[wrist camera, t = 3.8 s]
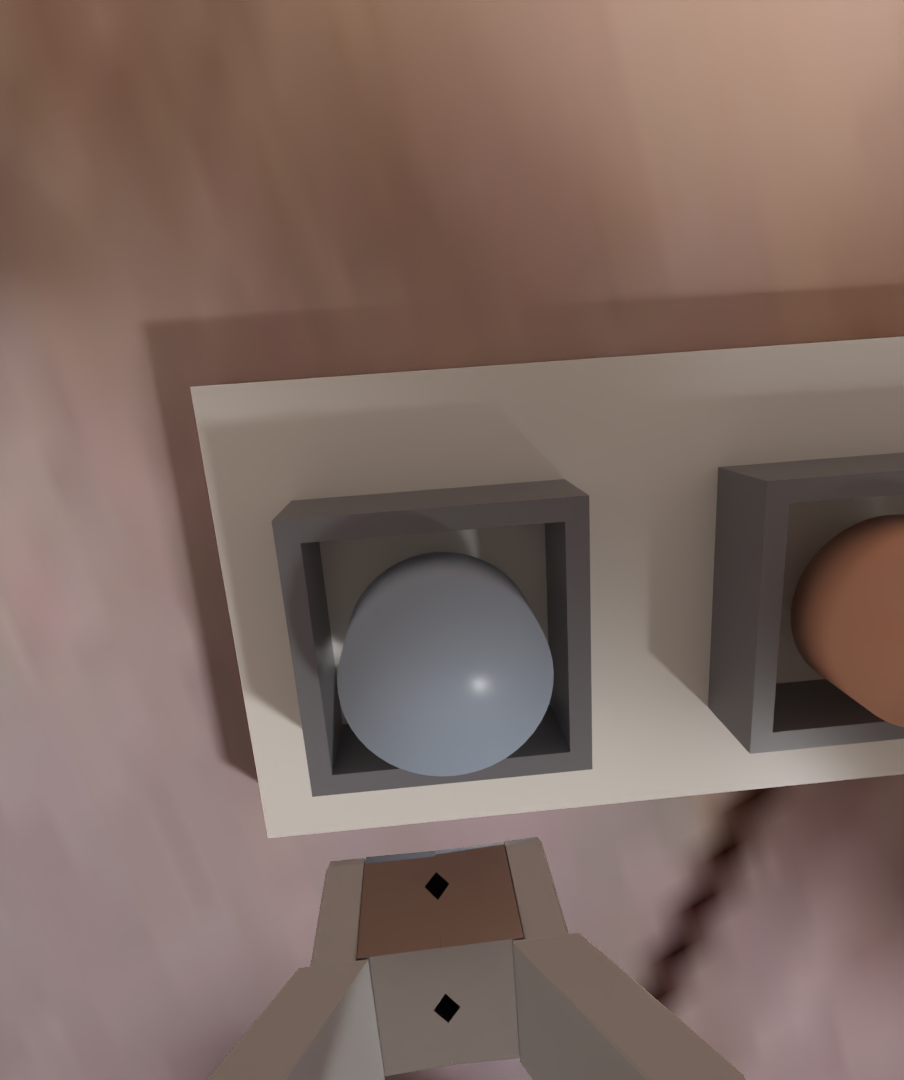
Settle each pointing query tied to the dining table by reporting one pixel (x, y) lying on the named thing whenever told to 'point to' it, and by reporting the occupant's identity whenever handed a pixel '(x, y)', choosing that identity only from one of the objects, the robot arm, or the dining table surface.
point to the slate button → (444, 666)
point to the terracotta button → (857, 615)
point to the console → (560, 564)
